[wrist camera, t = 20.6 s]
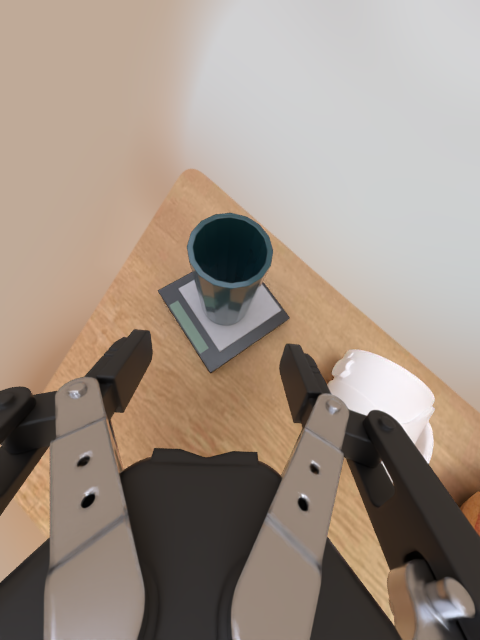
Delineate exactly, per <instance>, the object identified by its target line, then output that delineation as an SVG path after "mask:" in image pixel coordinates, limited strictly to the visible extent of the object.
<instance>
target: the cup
mask: <svg viewBox="0 0 480 640" xmlns="http://www.w3.org/2000/svg"><path fill="white" fill-rule="evenodd" d="M187 251H188V256H189V262H190V266H191V269H192V273H193V277H194V281H195V284H196V288H197V292H198V295H199V299H200V303H201V307H202V310H203V312H204V314H205V315H206V317H207V318H208V319H209V320H211V321H212V322H214V323H216V324H218V325H223V326H228V325H233V324H236V323H238V322H239V321H241V320H242V319H243V318H244V317H245V315H246V314H247V312H248V311H249V309H250V307H251V305H252V302H253V300H254V298H255V296H256V294H257V292H258V290H259V288H260V286H261V284H262V282H263V280H264V278H265V276H266V274H267V272H268V270H269V268H270V266H271V262H272V255H273V249H272V245H271V242H270V238H269V236H268V235H267V233H266V232H265V231H264V230H263V228H262V227H261V226H260V225H259V224H258V223H256V222H254V221H253V220H251V219H250V218H248V217H246V216H242V215H238V214H233V213H225V214H215V215H213V216H211V217H209V218H207V219H204V220H202V221H201V222H200V223H199V224H198V225H197V226H196V227H195V229H194V230H193V231H192V232H191V234H190V238H189V241H188V245H187Z"/></svg>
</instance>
